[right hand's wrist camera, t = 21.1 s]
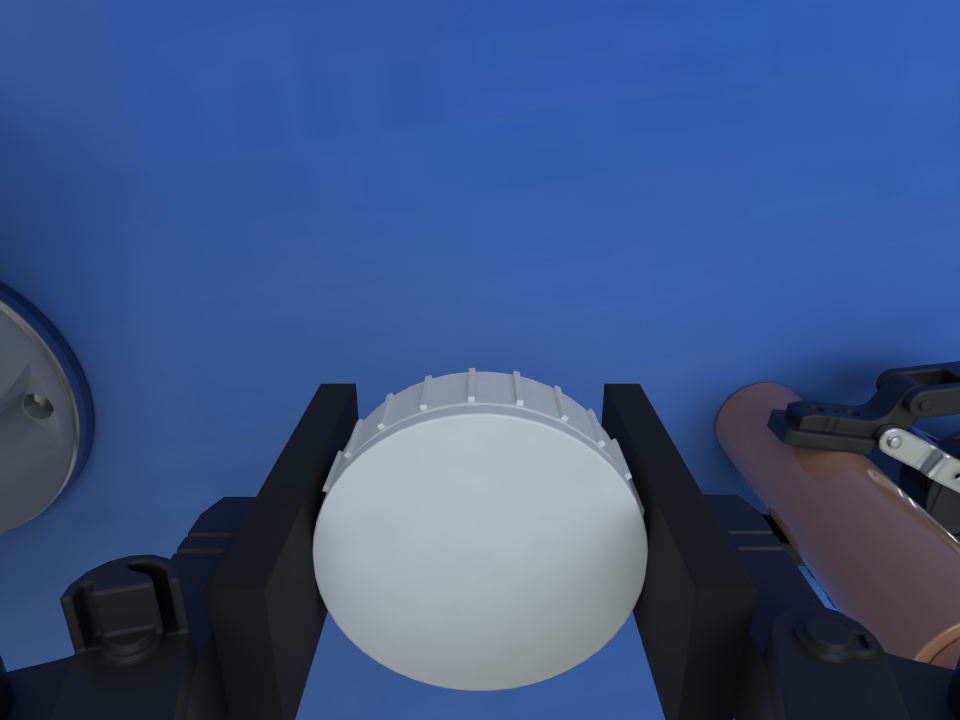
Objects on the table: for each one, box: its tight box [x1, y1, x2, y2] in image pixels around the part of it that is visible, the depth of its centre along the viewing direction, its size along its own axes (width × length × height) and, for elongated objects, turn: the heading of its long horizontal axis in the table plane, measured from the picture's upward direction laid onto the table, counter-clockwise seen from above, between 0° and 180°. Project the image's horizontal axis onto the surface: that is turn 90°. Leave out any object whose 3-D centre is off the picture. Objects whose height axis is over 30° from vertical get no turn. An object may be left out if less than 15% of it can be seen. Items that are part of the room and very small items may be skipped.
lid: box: [313, 368, 648, 691], centre depth 11 cm, size 6×6×2 cm
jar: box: [716, 382, 960, 670], centre depth 27 cm, size 5×5×18 cm
